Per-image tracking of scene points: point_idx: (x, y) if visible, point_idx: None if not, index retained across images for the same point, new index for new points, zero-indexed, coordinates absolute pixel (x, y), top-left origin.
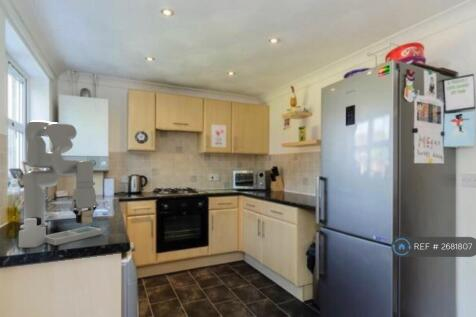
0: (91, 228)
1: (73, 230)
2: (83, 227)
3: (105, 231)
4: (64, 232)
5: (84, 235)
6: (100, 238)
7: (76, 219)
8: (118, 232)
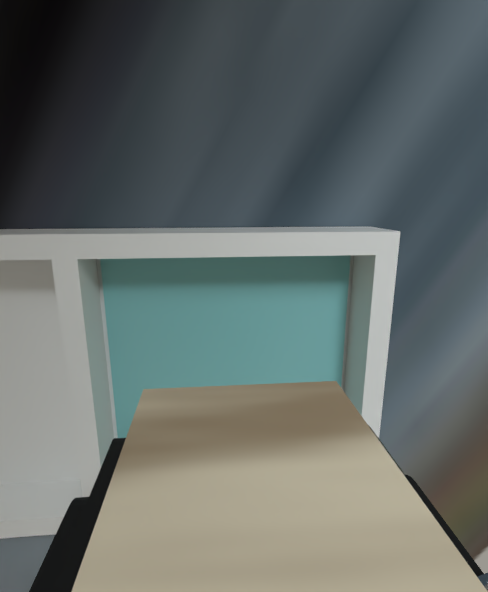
0: (363, 342)
1: (162, 257)
2: (329, 234)
3: (443, 402)
4: (27, 257)
5: None
6: None
7: (65, 537)
8: (458, 531)
